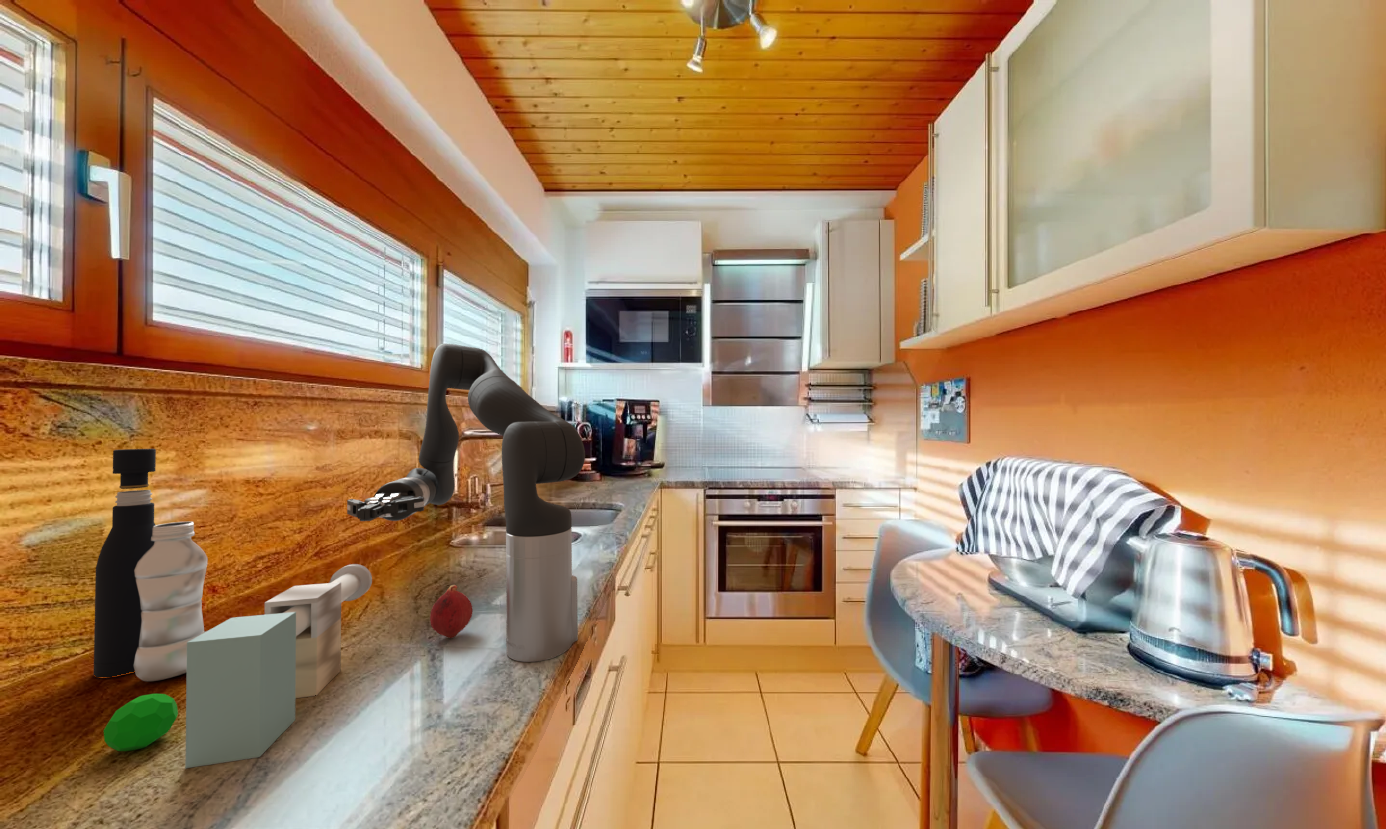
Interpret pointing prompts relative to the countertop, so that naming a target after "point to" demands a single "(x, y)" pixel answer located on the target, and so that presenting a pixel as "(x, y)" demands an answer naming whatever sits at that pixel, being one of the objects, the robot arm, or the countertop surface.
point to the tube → (352, 587)
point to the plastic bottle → (169, 601)
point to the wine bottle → (123, 566)
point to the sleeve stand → (314, 634)
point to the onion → (451, 613)
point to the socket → (240, 688)
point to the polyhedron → (140, 722)
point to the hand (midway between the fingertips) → (364, 514)
